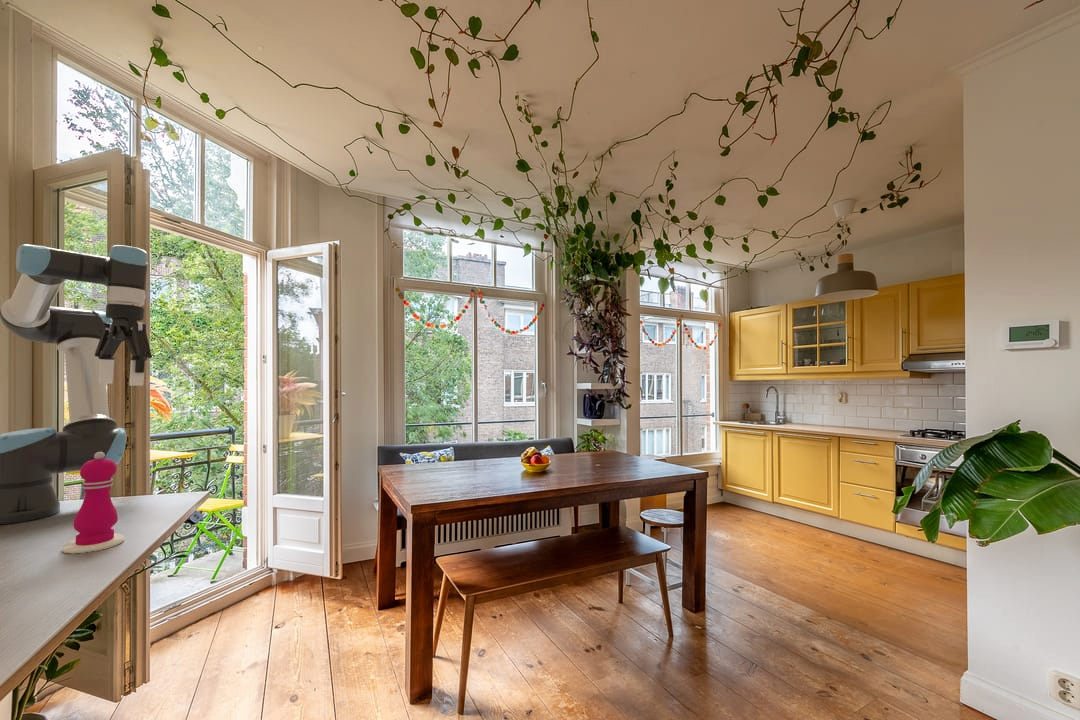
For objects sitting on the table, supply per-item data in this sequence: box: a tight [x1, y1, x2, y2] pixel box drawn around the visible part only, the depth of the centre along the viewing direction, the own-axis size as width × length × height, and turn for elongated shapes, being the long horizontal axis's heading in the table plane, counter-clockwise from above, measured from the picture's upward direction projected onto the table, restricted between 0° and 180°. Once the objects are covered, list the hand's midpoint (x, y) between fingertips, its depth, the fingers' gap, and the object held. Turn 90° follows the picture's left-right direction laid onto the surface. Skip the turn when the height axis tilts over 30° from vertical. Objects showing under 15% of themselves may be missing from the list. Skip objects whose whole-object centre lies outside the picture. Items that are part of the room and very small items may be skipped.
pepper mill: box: [72, 452, 119, 546], centre depth 103 cm, size 7×7×20 cm
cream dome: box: [61, 532, 125, 555], centre depth 103 cm, size 10×10×1 cm
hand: (120, 384), depth 120 cm, fingers open, 13 cm apart
